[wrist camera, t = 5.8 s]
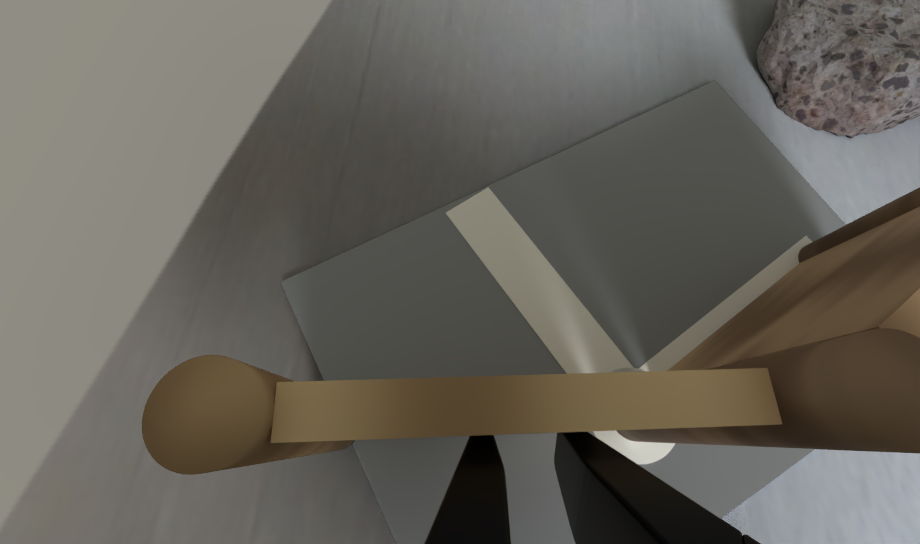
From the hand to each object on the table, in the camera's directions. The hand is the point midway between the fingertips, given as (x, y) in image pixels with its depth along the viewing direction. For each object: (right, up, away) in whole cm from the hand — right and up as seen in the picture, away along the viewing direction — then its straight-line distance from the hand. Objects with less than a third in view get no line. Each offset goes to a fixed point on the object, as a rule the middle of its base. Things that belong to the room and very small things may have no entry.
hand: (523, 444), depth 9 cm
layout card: (+6, +2, +10) cm, 12 cm away
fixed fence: (+10, +1, +10) cm, 14 cm away
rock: (+20, +15, +16) cm, 29 cm away
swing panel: (-1, -2, +8) cm, 8 cm away
